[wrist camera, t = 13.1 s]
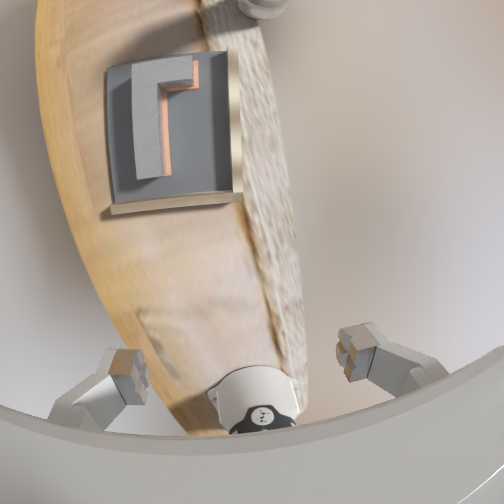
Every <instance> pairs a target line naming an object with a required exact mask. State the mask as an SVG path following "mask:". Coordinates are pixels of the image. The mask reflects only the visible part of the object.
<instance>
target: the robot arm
mask: <svg viewBox="0 0 504 504" xmlns="http://www.w3.org/2000/svg"><path fill="white" fill-rule="evenodd" d="M338 337H339V339H340V341H339V342H338V343H337V345H336V355H337V360H338V362H339V364H340V365H341V366H343V367H345V368H344V374H345V375H346V377H347V379H348V381H349V382H354V381H358V380H362V379H366V378H367V379H368V380H370V381H371V382H373V383H374V384H376V385H377V386H379V387H380V388H382V389H384V390H385V391H387V392H388V393H390V394H392V395H393V396H395V397H396V398H394V399H391V400H389V401H386V402H383V403H380V404H377V405H374V406H371V407H369V408H365V409H362V410H359V411H355V412H352V413H348V414H345V415H341V416H337V417H334V418H329V419H326V420H321V421H317V422H313V423H308V424H302V425H298V426H296V424H295V419H296V417H297V415H298V414H299V407H298V404H297V400H296V396H295V394H296V392H297V390H298V388H299V380H297V379H295V378H291V377H288V376H287V375H285V374H284V373H283V372H282V371H280V370H278V369H276V368H272V367H267V366H253V367H247V368H243V369H240V370H237V371H235V372H233V373H231V374H229V375H228V376H226V377H225V378H224V379H223V380H222V381H221V383H220V384H219V385H218V386H216V387H214V388H212V389H210V390H209V391H208V392H207V395H208V398H209V400H210V401H211V403H212V404H213V406H214V408H215V409H216V411H217V412H218V414H219V421H220V424H222V425H223V427H224V428H225V429H226V430H227V431H228V432H229V435H216V436H184V437H183V436H180V437H179V436H148V435H135V434H124V433H115V432H107V431H104V430H105V429H106V428H107V427H108V426H109V425H110V423H111V422H112V421H113V420H114V419H115V418H116V417H117V416H118V415H119V413H120V412H121V411H122V410H123V409H124V408H125V407H126V405H145V403H146V398H147V391H146V388H147V387H148V386H149V384H150V371H149V368H148V365H147V364H146V363H145V362H144V361H143V360H144V354H143V352H142V350H141V349H111V348H109V349H107V350H106V351H105V354H104V356H103V358H102V360H101V363H100V365H99V367H98V370H97V372H96V374H92V375H90V376H89V377H87V378H86V379H85V380H84V381H82V382H81V383H79V384H78V385H76V386H75V387H74V388H72V389H71V390H70V391H68V392H67V393H65V394H64V395H62V396H61V397H60V398H58V399H57V400H56V401H55V403H54V405H53V408H52V410H51V412H50V414H49V417H48V419H47V420H46V419H42V418H39V417H35V416H32V415H28V414H25V413H22V412H19V411H16V410H13V409H10V408H7V407H4V406H2V405H0V504H504V346H499V347H497V348H495V349H494V350H492V351H491V352H489V353H487V354H486V355H484V356H482V357H481V358H479V359H477V360H476V361H474V362H472V363H470V364H468V365H467V366H465V367H463V368H461V369H459V370H457V371H455V372H453V373H452V374H449V373H448V372H447V371H446V369H445V368H444V367H443V366H442V365H441V364H440V362H439V361H438V360H437V359H436V358H433V357H430V356H428V355H425V354H422V353H420V352H418V351H415V350H412V349H410V348H407V347H405V346H402V345H400V344H397V343H395V342H389V340H388V339H387V338H386V337H385V336H384V334H383V333H382V332H381V331H380V330H379V328H378V327H377V326H376V325H375V324H374V323H373V322H367V323H364V324H360V325H356V326H351V327H346V328H341V329H340V330H339V333H338Z"/></svg>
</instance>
